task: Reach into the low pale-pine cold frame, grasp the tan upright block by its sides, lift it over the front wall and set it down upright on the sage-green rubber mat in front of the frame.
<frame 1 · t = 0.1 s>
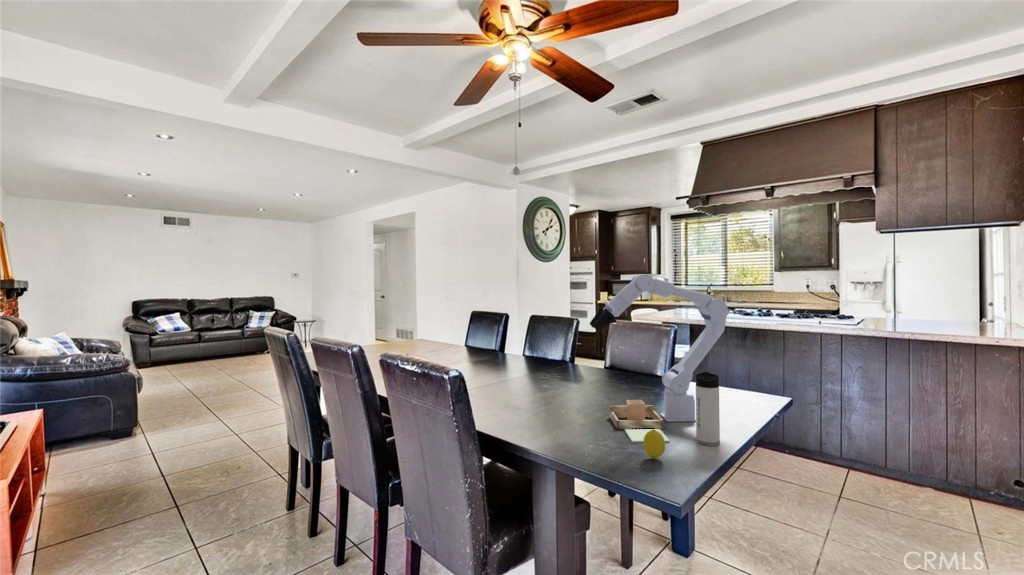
hand: (593, 327, 150), 32 cm above the table, tool tilted 50°, fingers open, 7 cm apart
travel mug: (708, 442, 128), on the table
tan upright block: (635, 422, 146), resting in cold frame
mat: (646, 436, 133), on the table
cold frame: (635, 422, 146), on the table
lemon: (654, 460, 117), on the table
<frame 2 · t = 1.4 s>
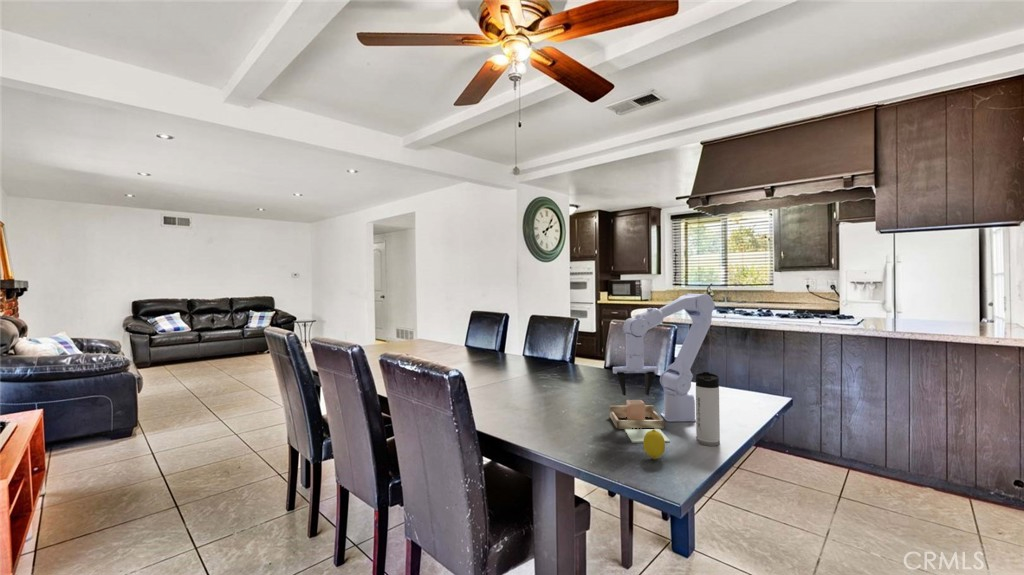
hand: (635, 394, 146), 9 cm above the table, tool pointing down, fingers open, 7 cm apart
nothing on the table moved.
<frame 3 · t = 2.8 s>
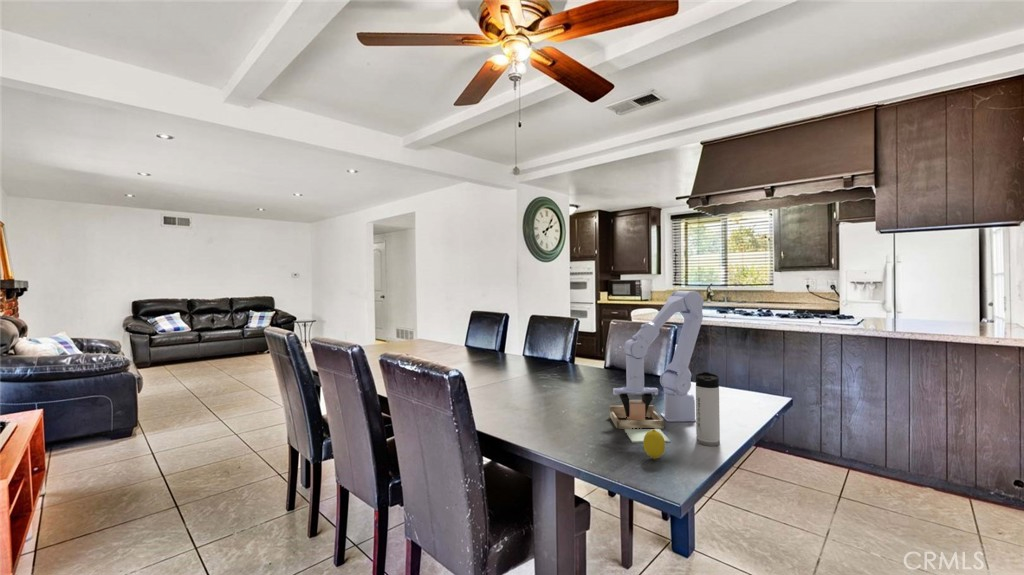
hand: (635, 416, 146), 2 cm above the table, tool pointing down, fingers closed on tan upright block, 5 cm apart
tan upright block: (635, 422, 146), resting in cold frame, touching gripper
everything else where it was.
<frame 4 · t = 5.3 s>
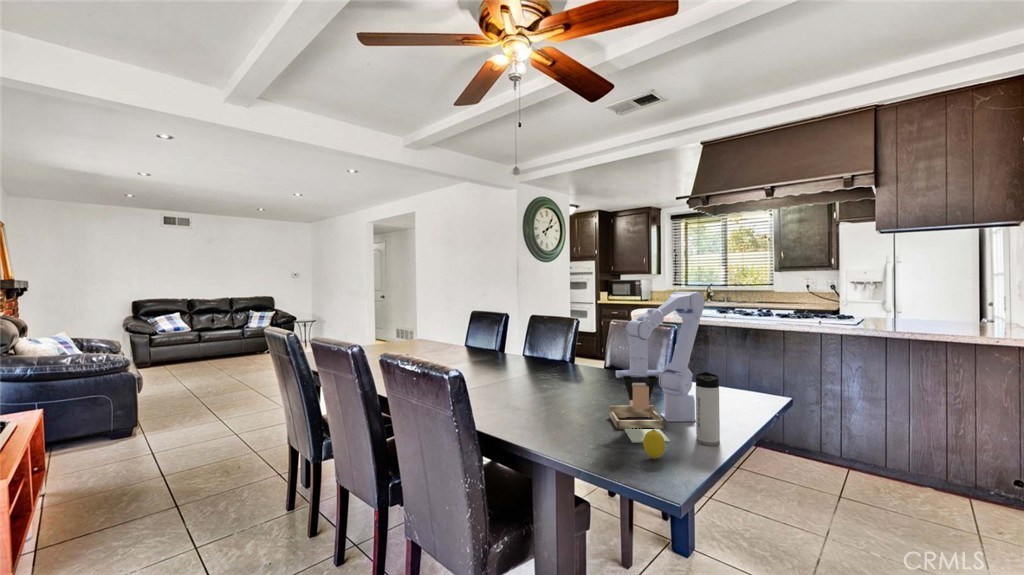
hand: (639, 399, 141), 9 cm above the table, tool pointing down, fingers closed on tan upright block, 5 cm apart
tan upright block: (639, 406, 141), point 7 cm above the table, touching gripper
everything else where it was.
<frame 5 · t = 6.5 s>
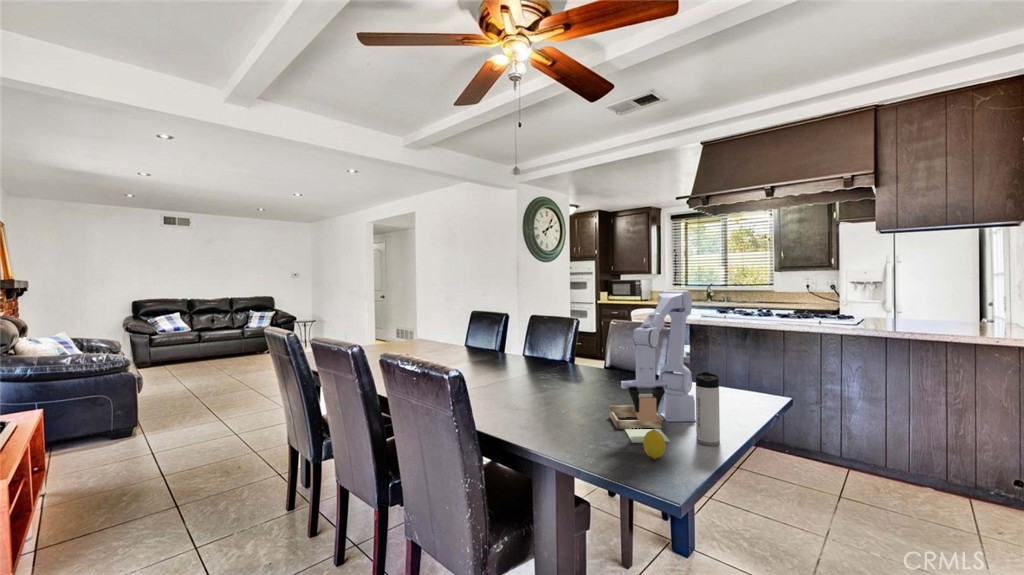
hand: (646, 411, 133), 8 cm above the table, tool pointing down, fingers closed on tan upright block, 5 cm apart
tan upright block: (646, 418, 134), point 5 cm above the table, touching gripper
everything else where it was.
when the fingers open (4 cm above the table, at t = 7.8 s): tan upright block drops 1 cm, resting on mat.
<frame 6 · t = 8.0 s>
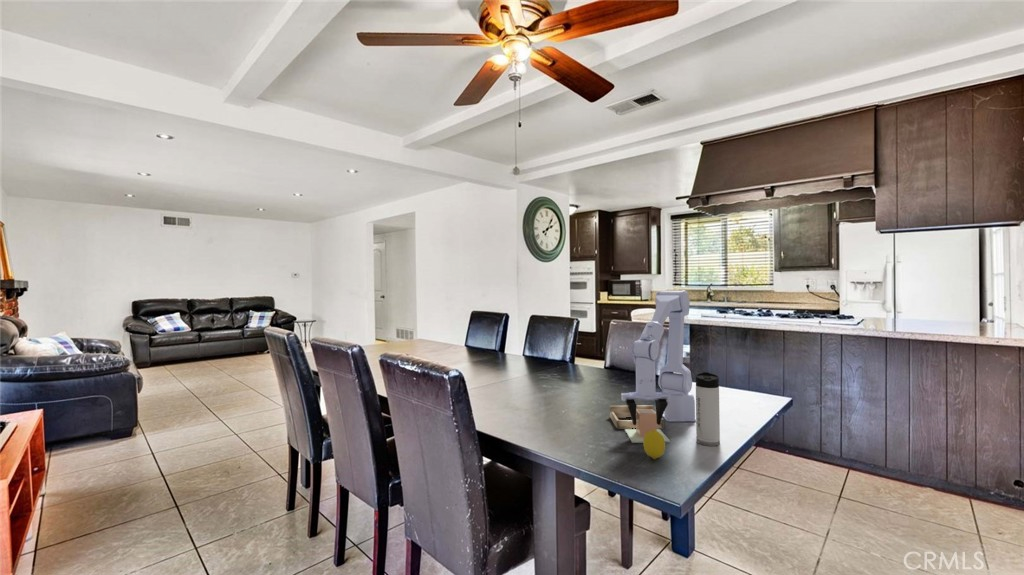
hand: (646, 423, 133), 4 cm above the table, tool pointing down, fingers open, 7 cm apart
tan upright block: (646, 434, 134), resting on mat
everything else where it was.
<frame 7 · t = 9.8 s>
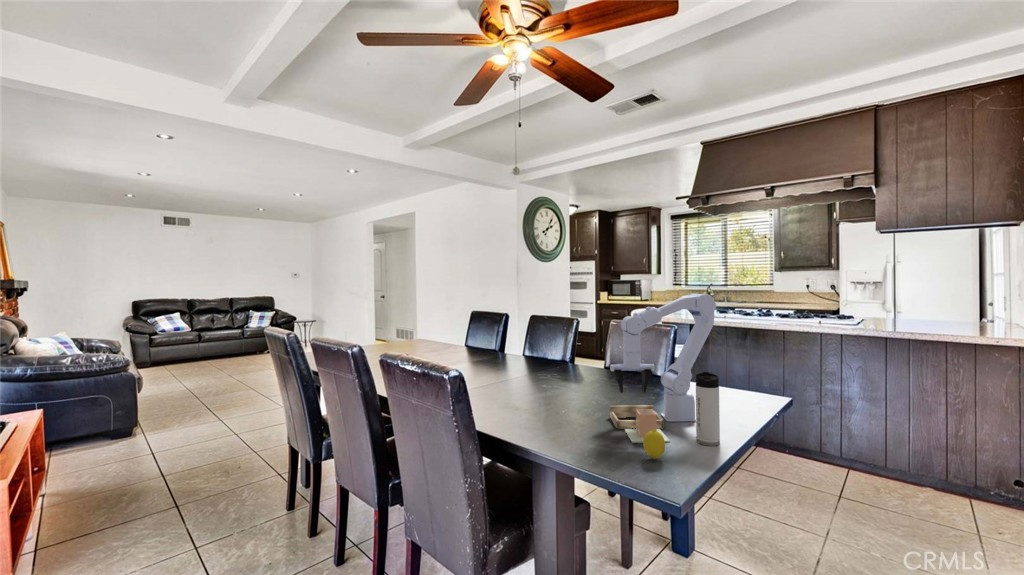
hand: (632, 391, 148), 10 cm above the table, tool pointing down, fingers open, 7 cm apart
nothing on the table moved.
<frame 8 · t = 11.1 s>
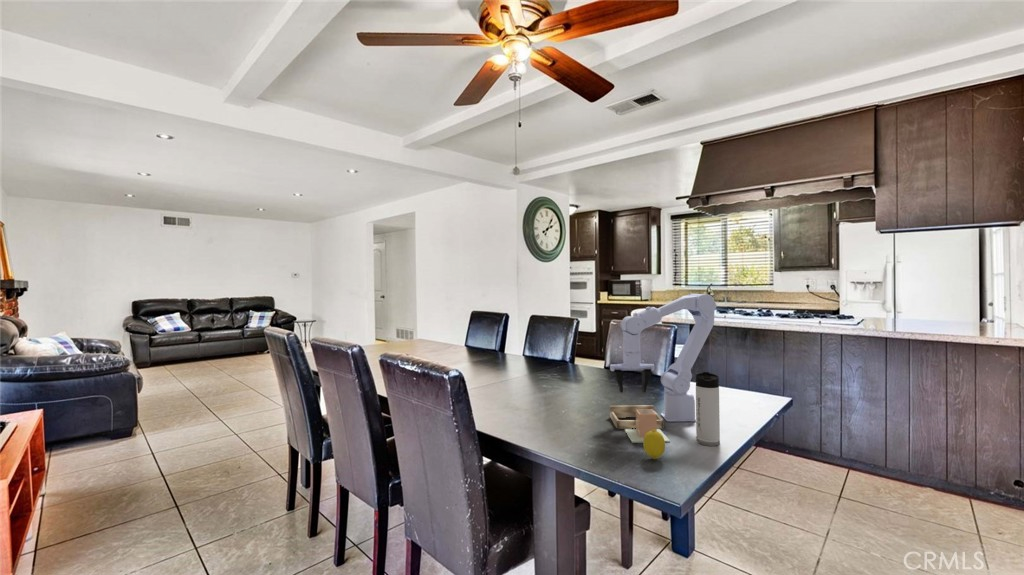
hand: (632, 391, 148), 10 cm above the table, tool pointing down, fingers open, 7 cm apart
nothing on the table moved.
at the end: tan upright block inside the target area on the mat (0.3 cm from its centre), point 0.5 cm above the mat's base; tan upright block tilted 0°; the gripper is holding nothing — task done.
